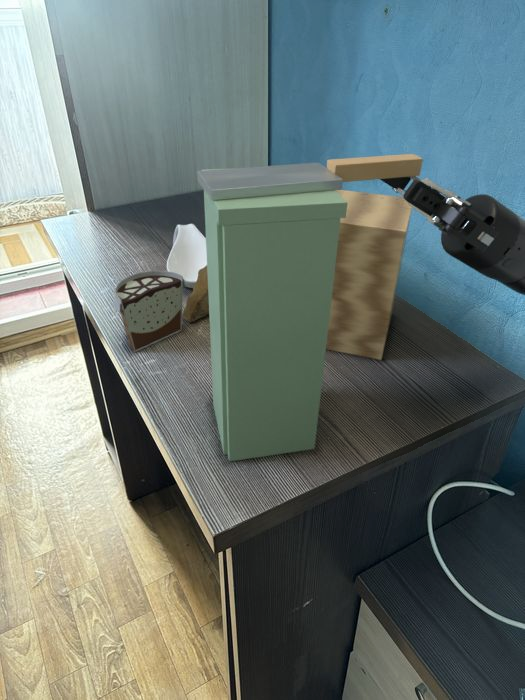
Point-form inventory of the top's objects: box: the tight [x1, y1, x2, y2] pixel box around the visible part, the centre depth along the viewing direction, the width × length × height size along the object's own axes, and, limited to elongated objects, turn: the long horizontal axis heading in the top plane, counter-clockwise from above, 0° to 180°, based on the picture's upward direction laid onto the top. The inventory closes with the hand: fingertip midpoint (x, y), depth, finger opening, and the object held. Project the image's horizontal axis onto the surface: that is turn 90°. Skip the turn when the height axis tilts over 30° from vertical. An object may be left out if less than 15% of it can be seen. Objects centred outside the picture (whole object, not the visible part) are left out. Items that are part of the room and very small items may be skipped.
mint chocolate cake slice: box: [113, 270, 186, 353], centre depth 84 cm, size 12×6×10 cm, turn 134°
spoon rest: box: [166, 223, 207, 289], centre depth 104 cm, size 24×12×7 cm, turn 17°
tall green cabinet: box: [201, 167, 347, 462], centre depth 60 cm, size 12×12×32 cm
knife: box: [196, 153, 424, 201], centre depth 52 cm, size 23×6×2 cm, turn 108°
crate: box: [326, 189, 413, 361], centre depth 83 cm, size 16×14×22 cm
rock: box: [182, 265, 209, 323], centre depth 92 cm, size 11×9×10 cm
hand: (392, 175), depth 53 cm, fingers open, 8 cm apart
